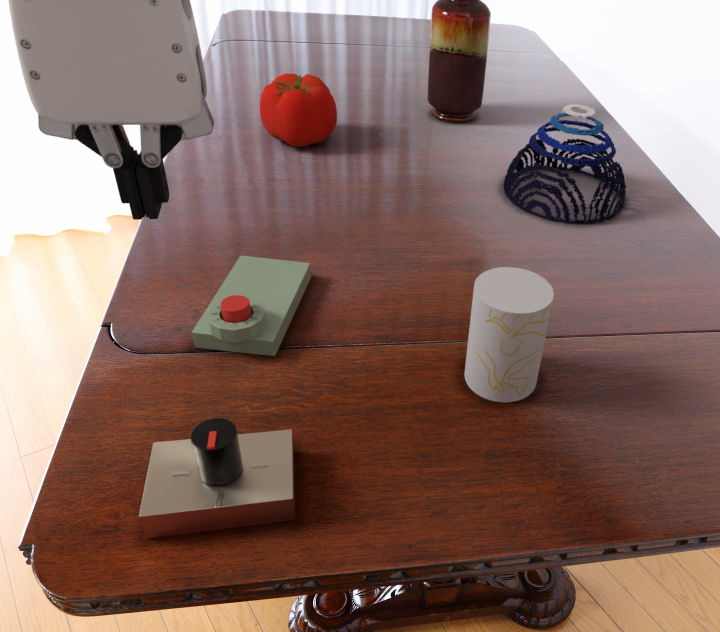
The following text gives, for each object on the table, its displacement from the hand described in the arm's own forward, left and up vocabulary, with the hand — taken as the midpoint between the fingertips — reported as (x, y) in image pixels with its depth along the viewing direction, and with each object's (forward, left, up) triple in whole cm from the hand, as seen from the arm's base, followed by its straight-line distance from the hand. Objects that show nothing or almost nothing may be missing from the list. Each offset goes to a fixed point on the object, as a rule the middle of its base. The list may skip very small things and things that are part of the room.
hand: (148, 209), depth 50 cm
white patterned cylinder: (+26, -18, -25) cm, 40 cm away
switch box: (+18, +12, -25) cm, 33 cm away
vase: (+88, +30, -25) cm, 96 cm away
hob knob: (-3, -6, -22) cm, 23 cm away
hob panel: (-2, -6, -25) cm, 26 cm away
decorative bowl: (+72, -3, -25) cm, 76 cm away
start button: (+13, +9, -21) cm, 26 cm away
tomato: (+58, +43, -25) cm, 76 cm away
